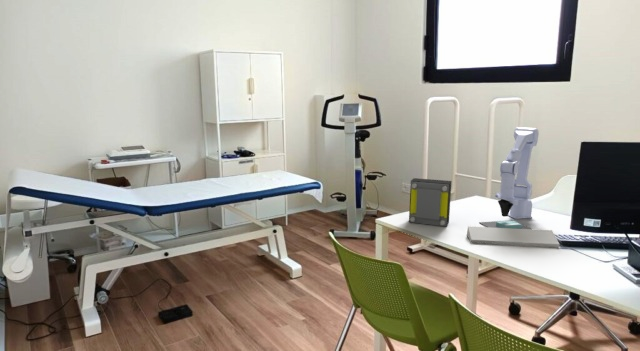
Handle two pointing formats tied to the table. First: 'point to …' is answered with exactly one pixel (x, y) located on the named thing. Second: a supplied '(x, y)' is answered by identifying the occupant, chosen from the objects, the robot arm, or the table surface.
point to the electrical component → (430, 201)
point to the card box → (509, 224)
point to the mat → (493, 225)
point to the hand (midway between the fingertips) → (504, 216)
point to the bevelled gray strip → (512, 236)
